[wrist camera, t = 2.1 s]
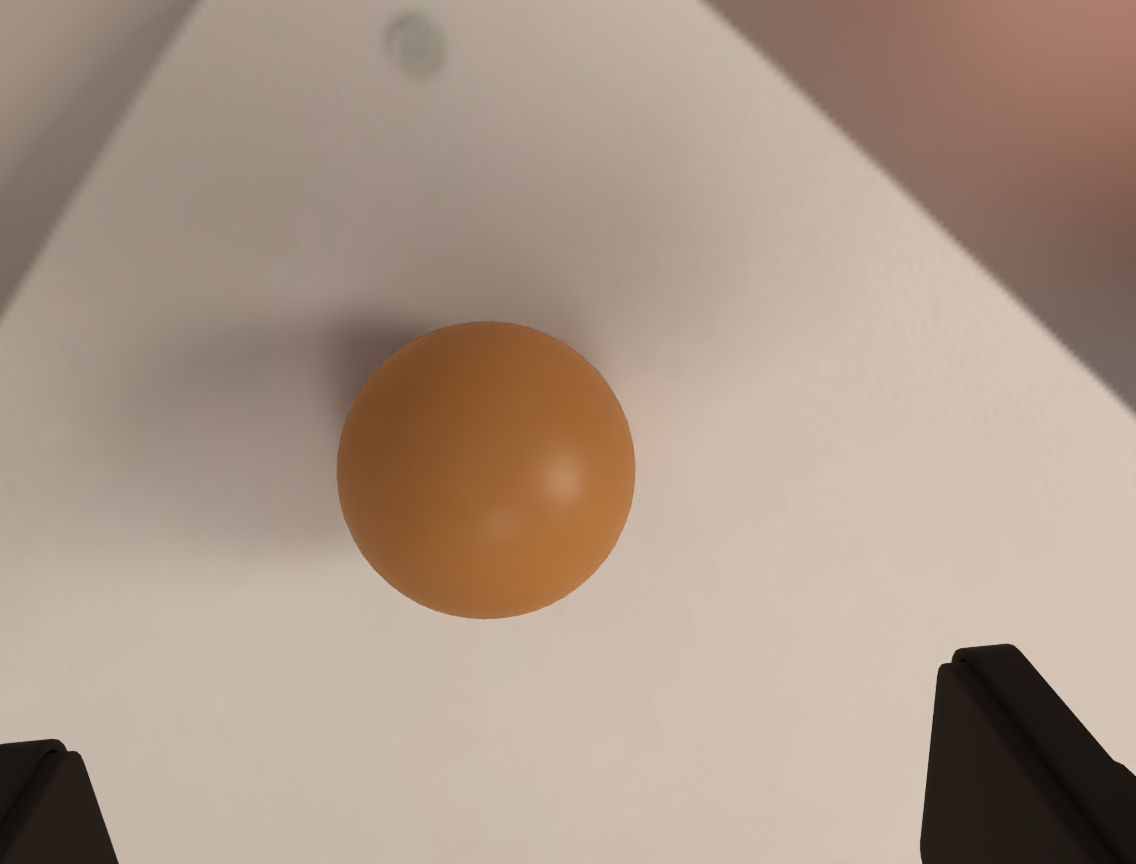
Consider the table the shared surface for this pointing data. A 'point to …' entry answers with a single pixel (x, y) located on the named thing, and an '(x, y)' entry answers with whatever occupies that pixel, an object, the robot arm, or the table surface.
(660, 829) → the table surface
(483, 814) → the table surface
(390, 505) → the orange ball
